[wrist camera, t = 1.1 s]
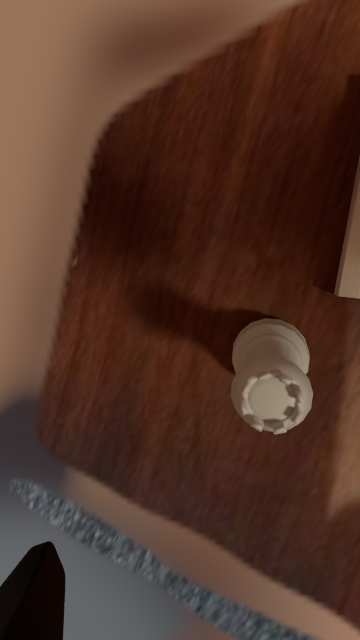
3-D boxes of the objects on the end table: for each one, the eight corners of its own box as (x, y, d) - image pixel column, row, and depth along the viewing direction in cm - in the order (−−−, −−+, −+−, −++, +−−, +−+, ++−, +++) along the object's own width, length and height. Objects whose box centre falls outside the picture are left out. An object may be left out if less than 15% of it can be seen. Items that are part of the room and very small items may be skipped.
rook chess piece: (228, 320, 21) (207, 351, 14) (305, 313, 20) (329, 342, 12) (236, 389, 22) (220, 457, 14) (311, 387, 21) (337, 458, 13)
